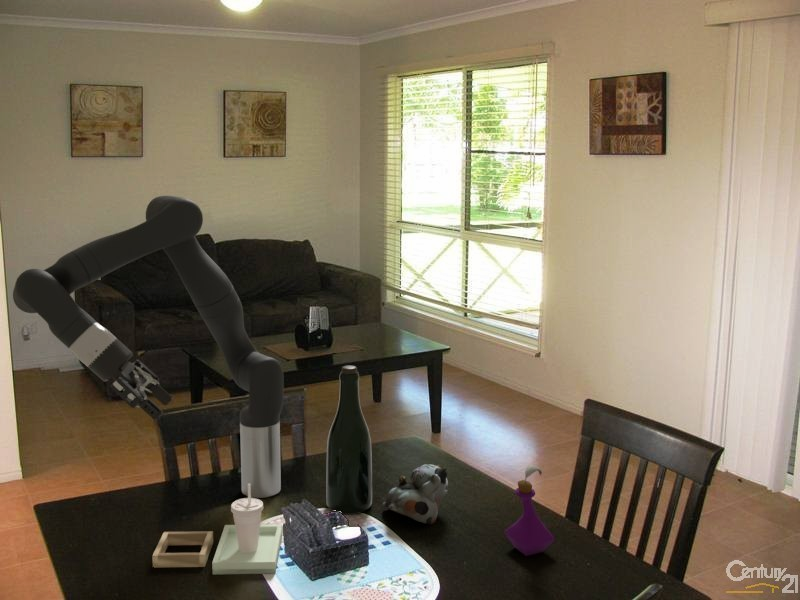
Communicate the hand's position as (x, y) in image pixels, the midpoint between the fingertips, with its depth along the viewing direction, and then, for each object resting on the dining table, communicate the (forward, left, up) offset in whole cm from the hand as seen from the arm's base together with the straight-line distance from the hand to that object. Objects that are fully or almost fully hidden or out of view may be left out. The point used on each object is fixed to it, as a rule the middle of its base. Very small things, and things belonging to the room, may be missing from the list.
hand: (164, 408), depth 161 cm
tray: (0, +16, -31) cm, 34 cm away
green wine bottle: (-22, +36, -31) cm, 52 cm away
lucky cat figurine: (-17, +50, -31) cm, 62 cm away
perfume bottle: (0, +73, -31) cm, 79 cm away
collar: (0, +3, -31) cm, 31 cm away
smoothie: (0, +15, -30) cm, 34 cm away
